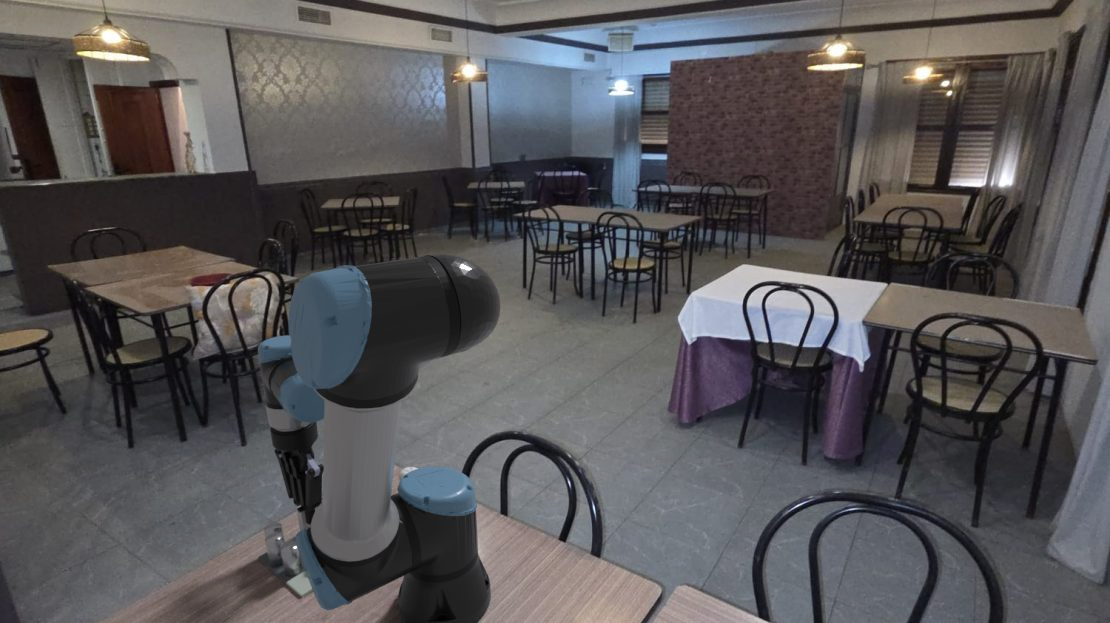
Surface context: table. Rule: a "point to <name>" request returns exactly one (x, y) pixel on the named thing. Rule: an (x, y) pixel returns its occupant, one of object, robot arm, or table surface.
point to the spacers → (282, 550)
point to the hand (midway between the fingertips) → (309, 534)
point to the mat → (295, 582)
